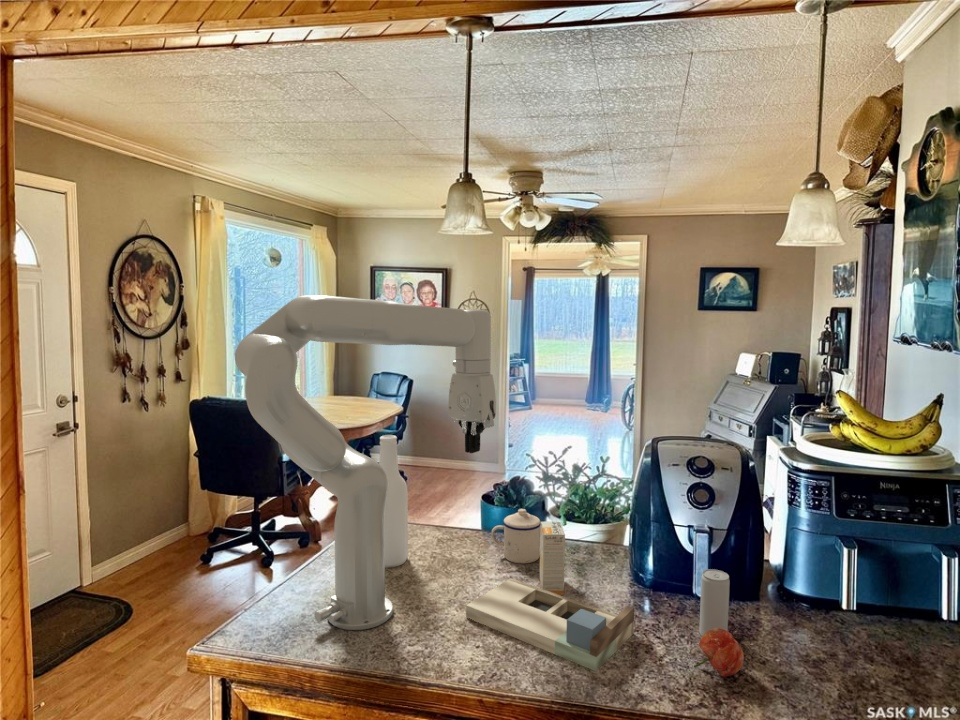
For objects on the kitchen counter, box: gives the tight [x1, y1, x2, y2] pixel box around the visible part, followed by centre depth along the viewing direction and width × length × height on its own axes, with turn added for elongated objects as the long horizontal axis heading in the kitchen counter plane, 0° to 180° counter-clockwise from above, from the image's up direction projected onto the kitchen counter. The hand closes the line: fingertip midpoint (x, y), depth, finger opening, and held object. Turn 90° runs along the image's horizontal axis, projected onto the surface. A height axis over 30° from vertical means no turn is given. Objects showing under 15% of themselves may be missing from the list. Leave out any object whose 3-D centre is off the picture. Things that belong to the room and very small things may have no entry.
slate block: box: [566, 609, 606, 651], centre depth 106 cm, size 5×5×4 cm
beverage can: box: [699, 568, 731, 637], centre depth 111 cm, size 5×5×12 cm
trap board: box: [465, 577, 635, 672], centre depth 115 cm, size 15×28×5 cm, turn 52°
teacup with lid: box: [491, 508, 542, 564], centre depth 147 cm, size 12×9×12 cm
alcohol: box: [378, 434, 409, 568], centre depth 143 cm, size 9×9×30 cm
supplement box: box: [539, 521, 566, 595], centre depth 131 cm, size 8×5×13 cm, turn 179°
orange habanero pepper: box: [693, 628, 747, 678], centre depth 101 cm, size 7×7×10 cm
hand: (472, 451), depth 131 cm, fingers closed
